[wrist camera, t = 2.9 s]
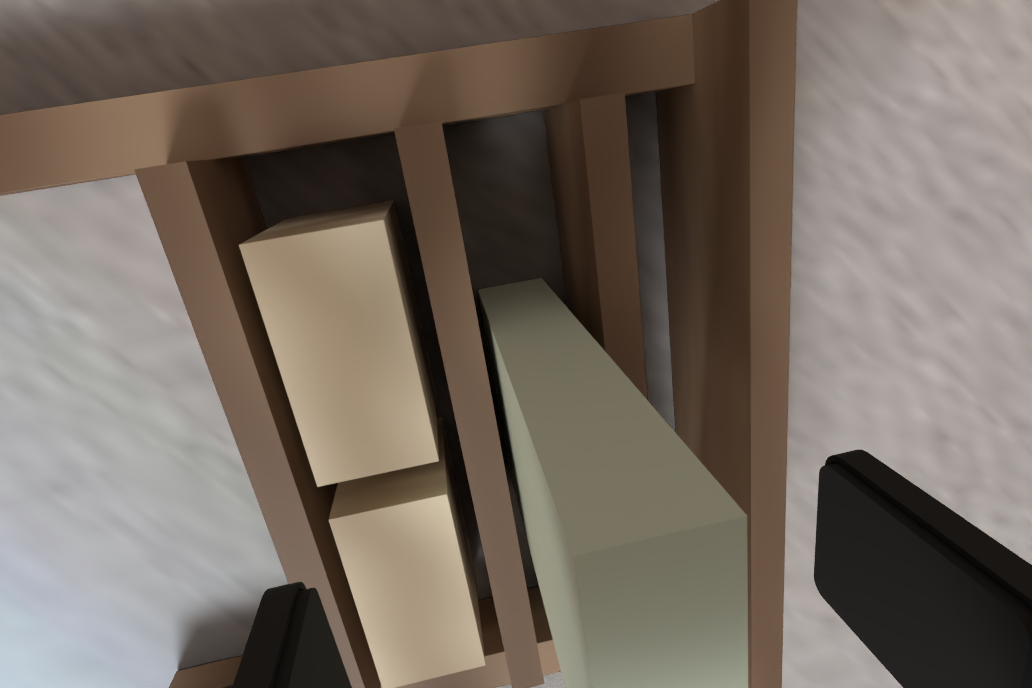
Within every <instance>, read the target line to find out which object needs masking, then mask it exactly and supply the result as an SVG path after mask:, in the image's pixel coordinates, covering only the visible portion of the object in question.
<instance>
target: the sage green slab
mask: <svg viewBox="0 0 1032 688" xmlns="http://www.w3.org/2000/svg"><path fill="white" fill-rule="evenodd" d="M478 294H479V299H480V305H481V311H482V316H483V322H484V327H485V333H486V338H487V344H488V349H489V355H490V361H491V366H492V372H493V377H494V383H495V388H496V394H497V400H498V405H499V411H500V416H501V422H502V427H503V433H504V439H505V444H506V450H507V455H508V461H509V466H510V472H511V478H512V483H513V487H514V490H515V494H516V498H517V502H518V506H519V510H520V514H521V518H522V522H523V525H524V529H525V533H526V537H527V541H528V545H529V549H530V553H531V557H532V560H533V564H534V568H535V572H536V576H537V580H538V584H539V588H540V592H541V595H542V599H543V603H544V607H545V611H546V615H547V619H548V623H549V627H550V630H551V634H552V638H553V642H554V646H555V650H556V654H557V658H558V662H559V666H560V669H561V673H562V677H563V681H564V685H565V688H748V565H747V515H746V514H745V512H744V511H743V510H742V509H741V508H740V507H739V506H738V504H737V503H736V502H735V501H734V500H733V499H732V497H731V496H730V495H729V494H728V493H727V492H726V491H725V489H724V488H723V487H722V486H721V485H720V484H719V482H718V481H717V480H716V479H715V478H714V477H713V476H712V474H711V473H710V472H709V471H708V470H707V469H706V467H705V466H704V465H703V464H702V463H701V462H700V460H699V459H698V458H697V457H696V456H695V455H694V454H693V452H692V451H691V450H690V449H689V448H688V447H687V445H686V444H685V443H684V442H683V441H682V440H681V439H680V437H679V436H678V435H677V434H676V433H675V432H674V430H673V429H672V428H671V427H670V426H669V425H668V423H667V422H666V421H665V420H664V419H663V418H662V417H661V415H660V414H659V413H658V412H657V411H656V410H655V408H654V407H653V406H652V405H651V404H650V403H649V402H648V400H647V399H646V398H645V397H644V396H643V395H642V393H641V392H640V391H639V390H638V389H637V388H636V387H635V385H634V384H633V383H632V382H631V381H630V380H629V378H628V377H627V376H626V375H625V374H624V373H623V371H622V370H621V369H620V368H619V367H618V366H617V365H616V363H615V362H614V361H613V360H612V359H611V358H610V356H609V355H608V354H607V353H606V352H605V351H604V350H603V348H602V347H601V346H600V345H599V344H598V343H597V341H596V340H595V339H594V338H593V337H592V336H591V335H590V333H589V332H588V331H587V330H586V329H585V328H584V326H583V325H582V324H581V323H580V322H579V321H578V319H577V318H576V317H575V316H574V315H573V314H572V313H571V311H570V310H569V309H568V308H567V307H566V306H565V304H564V303H563V302H562V301H561V300H560V299H559V298H558V296H557V295H556V294H555V293H554V292H553V291H552V289H551V288H550V287H549V286H548V285H547V284H546V283H545V281H544V280H543V279H542V278H537V279H532V280H527V281H521V282H516V283H510V284H505V285H500V286H494V287H489V288H483V289H478Z"/></svg>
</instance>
